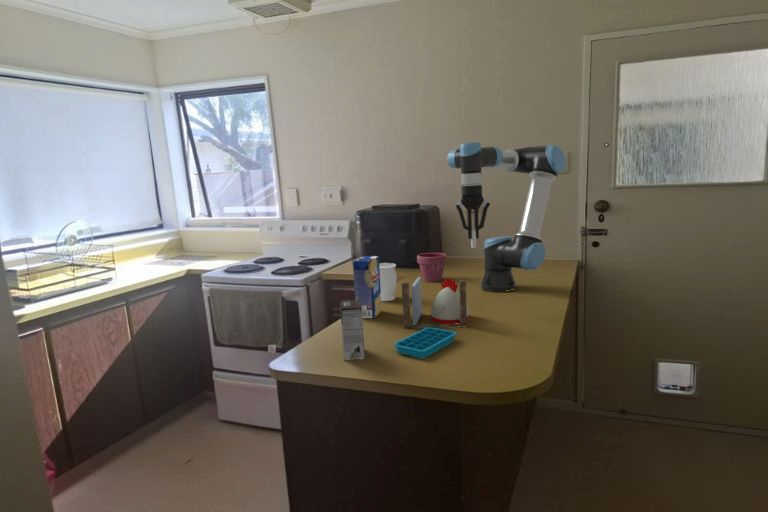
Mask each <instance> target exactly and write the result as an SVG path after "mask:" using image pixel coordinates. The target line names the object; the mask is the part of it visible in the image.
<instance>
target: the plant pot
mask: <svg viewBox="0 0 768 512" xmlns="http://www.w3.org/2000/svg"><path fill="white" fill-rule="evenodd" d="M416 263H417V264H419V265H418V266H419V269H420V273H421V279H422V281H423V282H427V283H437V282H436V281H438V282H440V280H441V279H442V278H443V274H444V268H445V263H447V254H446V253H443V252H424V253H419V254H417V256H416ZM441 281H442V280H441Z"/></svg>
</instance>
